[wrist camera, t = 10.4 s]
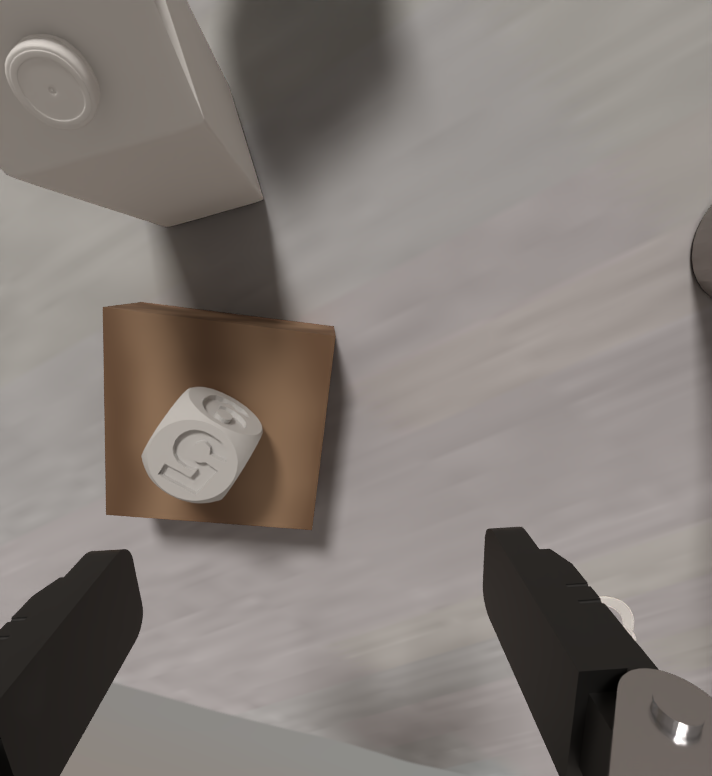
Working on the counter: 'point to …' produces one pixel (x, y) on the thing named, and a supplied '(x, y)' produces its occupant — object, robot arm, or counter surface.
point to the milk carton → (121, 109)
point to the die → (201, 445)
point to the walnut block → (232, 377)
